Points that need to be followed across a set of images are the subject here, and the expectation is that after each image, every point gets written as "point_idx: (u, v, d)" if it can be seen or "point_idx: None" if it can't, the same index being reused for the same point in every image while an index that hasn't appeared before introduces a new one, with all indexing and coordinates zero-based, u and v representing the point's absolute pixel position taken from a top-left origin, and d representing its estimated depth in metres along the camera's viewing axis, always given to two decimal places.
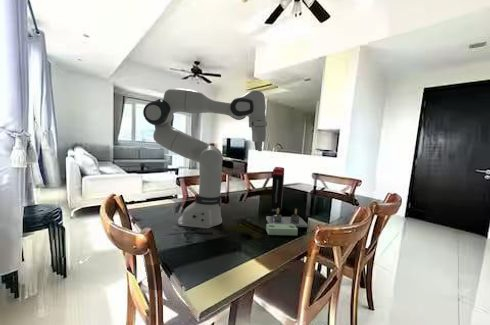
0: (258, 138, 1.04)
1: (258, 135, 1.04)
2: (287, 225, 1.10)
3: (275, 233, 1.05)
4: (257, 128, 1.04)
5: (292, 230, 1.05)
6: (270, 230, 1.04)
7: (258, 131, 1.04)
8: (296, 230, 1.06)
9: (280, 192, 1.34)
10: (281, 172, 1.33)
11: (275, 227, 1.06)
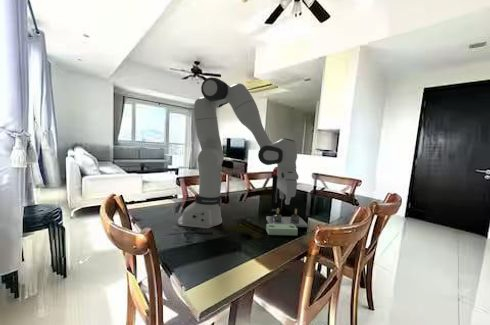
0: (288, 193, 0.96)
1: (288, 190, 0.96)
2: (287, 225, 1.10)
3: (275, 233, 1.05)
4: (288, 182, 0.96)
5: (292, 230, 1.05)
6: (270, 230, 1.04)
7: (289, 185, 0.96)
8: (296, 230, 1.06)
9: None
10: None
11: (275, 227, 1.06)
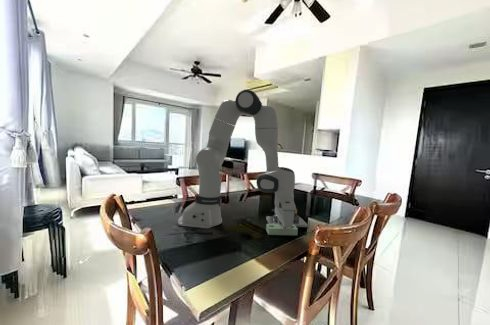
0: (285, 224, 0.97)
1: (286, 220, 0.97)
2: None
3: (275, 233, 1.05)
4: (285, 213, 0.98)
5: (292, 230, 1.05)
6: (270, 230, 1.04)
7: (286, 216, 0.97)
8: (296, 230, 1.06)
9: None
10: None
11: (275, 227, 1.06)
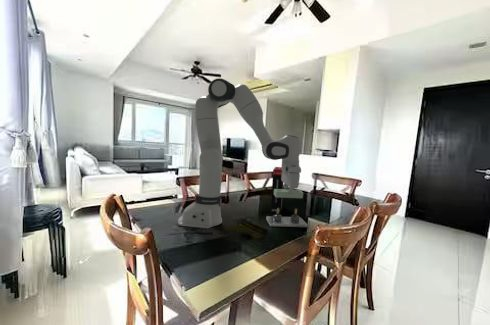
0: (292, 184, 1.06)
1: (292, 181, 1.06)
2: (293, 190, 1.18)
3: (282, 196, 1.13)
4: (291, 174, 1.06)
5: (298, 193, 1.14)
6: (277, 193, 1.13)
7: (292, 178, 1.06)
8: (302, 193, 1.14)
9: None
10: (281, 172, 1.33)
11: (282, 191, 1.14)
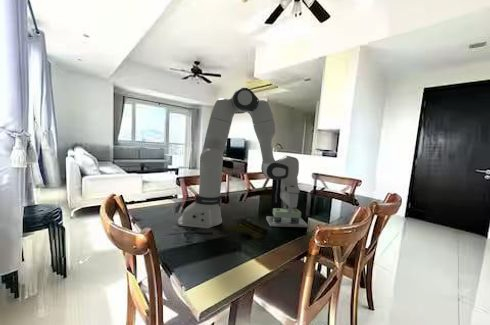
0: (290, 204, 1.10)
1: (291, 202, 1.10)
2: None
3: (281, 216, 1.18)
4: (290, 195, 1.11)
5: (296, 213, 1.18)
6: (276, 213, 1.17)
7: (291, 198, 1.10)
8: (300, 213, 1.19)
9: None
10: None
11: (281, 211, 1.19)
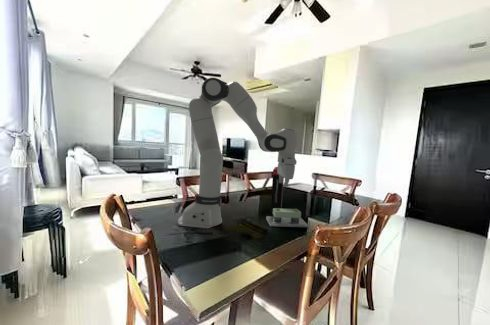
0: (287, 175, 1.10)
1: (287, 173, 1.10)
2: (291, 209, 1.23)
3: (281, 216, 1.18)
4: (287, 166, 1.10)
5: (296, 213, 1.18)
6: (276, 213, 1.17)
7: (288, 169, 1.10)
8: (300, 213, 1.19)
9: (280, 192, 1.34)
10: None
11: (281, 211, 1.19)
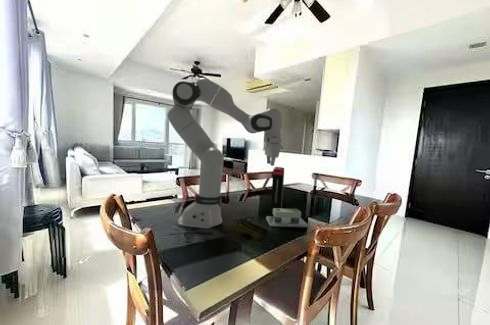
0: (272, 154, 1.12)
1: (273, 151, 1.12)
2: (291, 209, 1.23)
3: (281, 216, 1.18)
4: (272, 144, 1.12)
5: (296, 213, 1.18)
6: (276, 213, 1.17)
7: (273, 147, 1.12)
8: (300, 213, 1.19)
9: (280, 192, 1.34)
10: (281, 172, 1.33)
11: (281, 211, 1.19)
